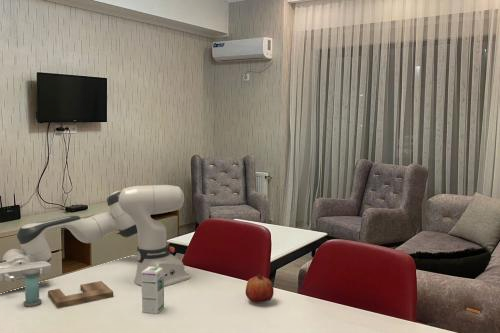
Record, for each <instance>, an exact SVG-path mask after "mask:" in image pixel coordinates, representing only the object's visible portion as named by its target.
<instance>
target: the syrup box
mask: <svg viewBox="0 0 500 333" xmlns="http://www.w3.org/2000/svg"><path fill="white" fill-rule="evenodd" d="M141 279H142V285H141V310H142V311H141V312H142V313H144V314H154V315H158V314H159V313H160V312H161V311H162V310H163V309H164V307H165V296H164V295H165V293H164V292H165V290H164V288H165V286H164V281H163V268H162V267H148V268H147V269H145V270H144V271H142V272H141Z"/></svg>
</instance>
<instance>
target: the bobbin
mask: <svg viewBox="0 0 500 333" xmlns="http://www.w3.org/2000/svg"><path fill="white" fill-rule="evenodd" d="M39 274H40V269H38V268H32V269H26V270H24V271H23V276H25V278H24V291H25V292H24V295H25V297H24V301H23V306H24V308H35V307H38V306H40V305H41V304H42V299H41V298H40V281H39V280H40V277H39Z"/></svg>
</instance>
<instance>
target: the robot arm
mask: <svg viewBox="0 0 500 333" xmlns="http://www.w3.org/2000/svg"><path fill="white" fill-rule="evenodd" d="M106 202H107V206H108V208H109V210H110V211H103V212H100V213H97V214H94V215H92V216H89V217H86V218H85V217H84V218H82V217H81V216H79V215H68V216H62V217H59V218H58V217H57V218H54V219H49V220H44V221H40V222H34V223H33V222H32V223H27V224H24V225H23V226H21V227H20V228H19V230H18V231H17V234H16V238H17V240H18V242H19V244H20V246H21V249H18V248H11V249H9V250H7V251H6V252H5V253H4V255H3V257H2V260H1V261H0V283H2V282H8V283H10V282H14V281H15V280H18V281H19V280H23V279H25V276H23V271H24V270H26V269H32V268H38V269H40V274H39V278H41V277H43V276H44V275H49V274H51V273H52V264H51V263H50V261H51V260H52V259H53V258H52V257H53V254H52V252H51V248H50V246H49V243H48V241H47V237H46V233H47V232H50V231H54V230H59V229H63V228H66V229H67V230H68V231H70V233H71V234H72V236H74V238H76V239H77V240H78V241H80V242H81V243H84V244H91V243H93V242H94V243H95V242H96V241H100V239H103V238H105V237H107V236H108V235H110V234H112V233H113V232H115V231H119V232H117V233H116V235H120V236H121V237H123V238H126V239H127V238H134V237H136V236H137V242H138V244H137V245H138V246H137V248H136V249H137V250H136V260H137V267H136V274H135V277H134V283H135V284H137V285H140V286H142V279H141V272H142V271H144V270H145V269H147V268H148V267H162V268H163V281H164V287H167V286H170V285H173V284H177V283H180V282H185V281H187V280H190V279H191V274H190V273H189V272H188V271H186V270H185V266H184V263H183V261H182V260H180V259H178V257H176V256H175V255H173V254H172V253H174V252H175V251H176V250H175V249H176V248H175V247H174V246H170V245H167V228H166V226H165V225H164V223H162V222H160V221H158V220H157V219H153V218H152V217H151V215H159V214H165V213H168V212H174V211H179V210H180V209H181V208H182V207H183V205H184V202H185V194H184V191H183V190H182V189H181V187H180V186H176V185H172V184H171V185H170V184H149V185H147V184H146V185H133V186H132V185H131V186H128V187H124V188H123V189H122V190H116V191H114V192H112V193H111V194H110V195H109V196H107V198H106Z"/></svg>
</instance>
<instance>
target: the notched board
mask: <svg viewBox="0 0 500 333" xmlns="http://www.w3.org/2000/svg"><path fill="white" fill-rule="evenodd" d="M79 288H80V291H81V292H78V293H75V294H74V293H73V294H69V295H65V293H63V291H62V290H61V289H60V288H55V289H50V290H47V297H48V298H49V299H50V301H51V302H52V304H54V306H55V308H56V309H61V308H65V307H72V306H76V305H80V304H86V303H91V302H95V301H100V300H104V299H105V300H106V299H110V298H113V297H114V290H112V289H111V288H110V287H109V286H108V285H106V283H105V282H103V281H102V280H99V281H94V282H88V283H82V284H80V286H79Z"/></svg>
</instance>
